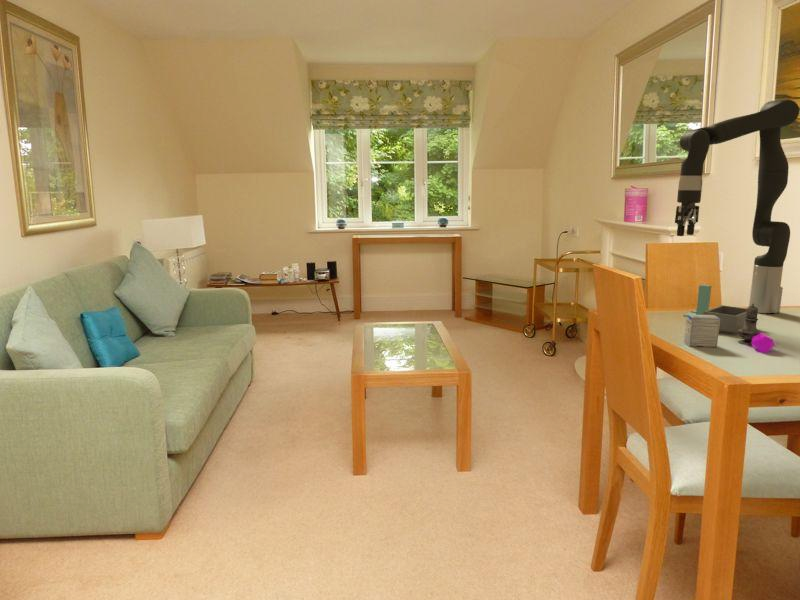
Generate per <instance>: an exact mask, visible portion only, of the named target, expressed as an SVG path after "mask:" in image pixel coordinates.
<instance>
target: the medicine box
mask: <svg viewBox="0 0 800 600" xmlns="http://www.w3.org/2000/svg"><path fill="white" fill-rule="evenodd" d="M685 317H686V316H685ZM719 326H720V319H719V318H718V317H716V316H714V315H687V317H686V318H685V328H684V339H683V343H684V342H685V343H686V344H687V345H686V344H685V343H684V344H685V345H686V346H688V345H689V346H688V347H697V346H703V347H705V348H717V347H718V342H719V341H718V340H719V334H720V333H719ZM703 347H702V348H703Z"/></svg>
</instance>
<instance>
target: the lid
mask: <svg viewBox="0 0 800 600" xmlns="http://www.w3.org/2000/svg"><path fill="white" fill-rule="evenodd" d="M697 293H698V294H697V301H696V302H697V303H696V309H695V310H690V311H689V312H687V313H684V314H683V317H686V316H687V315H703V313H704V311H706V310H709V309H710V302H711V301H710V300H711V293H712V285H711V284H703V283H702V284H699V285H698V292H697Z"/></svg>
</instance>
